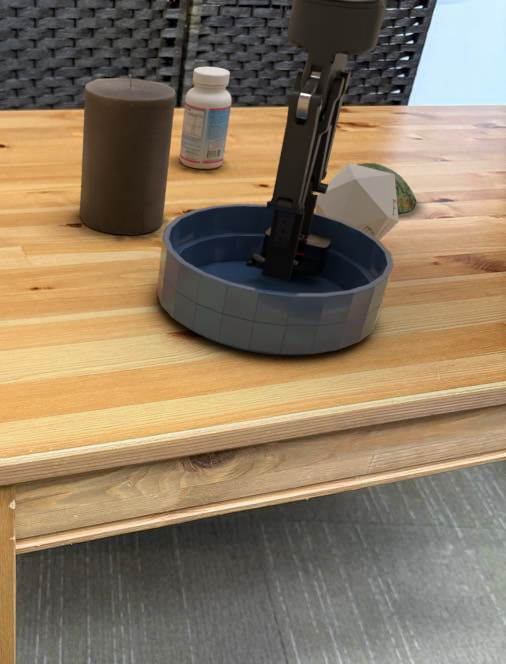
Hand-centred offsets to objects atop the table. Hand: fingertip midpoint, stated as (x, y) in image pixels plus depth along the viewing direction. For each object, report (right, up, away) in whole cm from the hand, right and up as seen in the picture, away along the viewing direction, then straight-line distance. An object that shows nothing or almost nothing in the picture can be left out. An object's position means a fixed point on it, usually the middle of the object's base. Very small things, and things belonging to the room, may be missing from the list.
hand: (283, 266), depth 82 cm
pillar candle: (-16, +9, +12) cm, 22 cm away
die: (+10, +6, +10) cm, 15 cm away
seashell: (+17, +16, +22) cm, 32 cm away
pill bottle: (-5, +24, +29) cm, 38 cm away
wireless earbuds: (0, 0, 0) cm, 0 cm away
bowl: (-2, -5, -3) cm, 6 cm away
